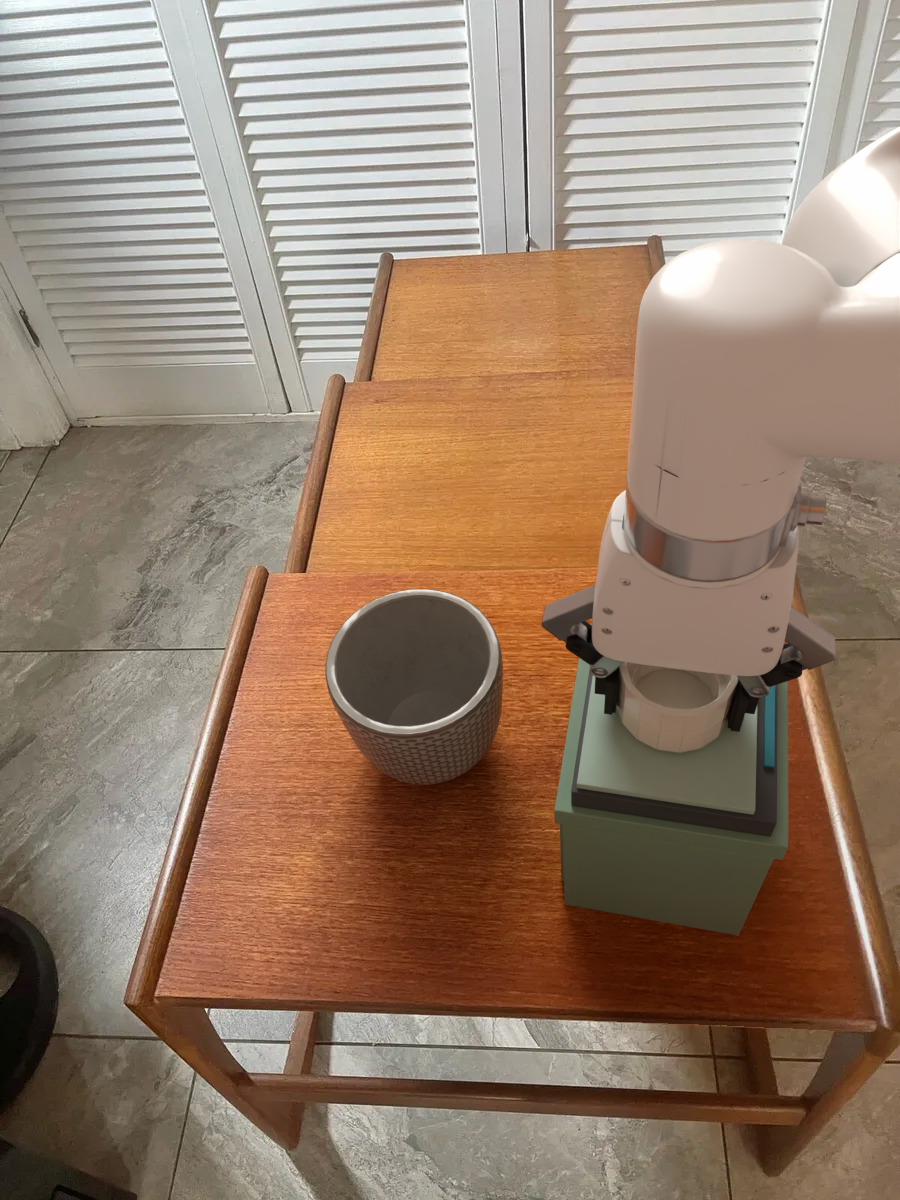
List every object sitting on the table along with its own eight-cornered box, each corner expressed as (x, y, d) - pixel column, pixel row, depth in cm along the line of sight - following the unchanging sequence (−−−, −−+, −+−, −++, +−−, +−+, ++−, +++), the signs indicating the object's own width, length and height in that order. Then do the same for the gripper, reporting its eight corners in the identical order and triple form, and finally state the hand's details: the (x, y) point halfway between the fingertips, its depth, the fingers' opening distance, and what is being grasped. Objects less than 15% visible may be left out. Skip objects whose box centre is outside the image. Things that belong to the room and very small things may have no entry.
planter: (338, 701, 84) (306, 618, 73) (480, 653, 85) (467, 566, 75) (378, 834, 75) (347, 762, 65) (534, 779, 77) (528, 699, 66)
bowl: (728, 670, 59) (740, 624, 55) (724, 763, 55) (736, 722, 51) (622, 657, 60) (626, 612, 56) (611, 747, 56) (614, 706, 52)
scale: (772, 658, 62) (779, 636, 60) (771, 837, 54) (778, 819, 52) (596, 638, 64) (596, 616, 62) (571, 806, 57) (571, 787, 55)
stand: (750, 768, 75) (788, 654, 62) (745, 937, 67) (788, 847, 54) (581, 744, 78) (583, 630, 65) (557, 903, 70) (554, 810, 57)
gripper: (897, 466, 43) (816, 670, 57) (536, 441, 47) (544, 638, 61) (909, 589, 39) (819, 777, 53) (510, 550, 42) (525, 735, 56)
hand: (672, 701), depth 57 cm, fingers closed on bowl, 6 cm apart
